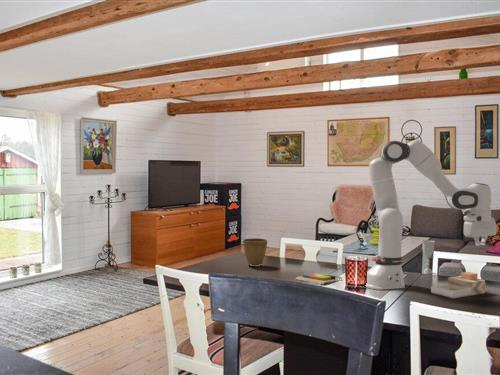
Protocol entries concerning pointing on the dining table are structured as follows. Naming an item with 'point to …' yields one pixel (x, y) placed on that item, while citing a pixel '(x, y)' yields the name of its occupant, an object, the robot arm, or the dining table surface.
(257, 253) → the plant pot
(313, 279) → the wooden puzzle
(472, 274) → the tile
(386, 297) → the dining table surface
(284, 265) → the dining table surface
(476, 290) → the bench plate
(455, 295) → the box
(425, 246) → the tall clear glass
